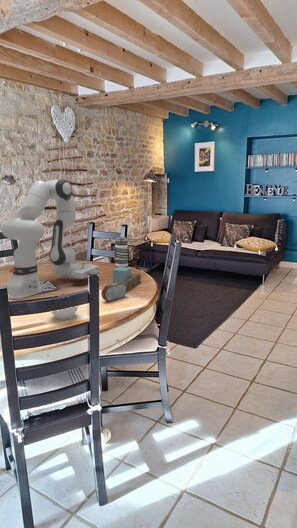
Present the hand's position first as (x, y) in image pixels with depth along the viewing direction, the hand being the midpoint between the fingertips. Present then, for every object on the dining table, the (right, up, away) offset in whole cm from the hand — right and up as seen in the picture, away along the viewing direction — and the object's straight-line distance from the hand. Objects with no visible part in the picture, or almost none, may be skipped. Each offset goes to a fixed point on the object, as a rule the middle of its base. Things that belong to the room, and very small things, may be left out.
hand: (98, 272), depth 208 cm
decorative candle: (+13, -3, +17) cm, 22 cm away
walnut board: (+20, -8, -5) cm, 22 cm away
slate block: (+14, -7, -3) cm, 17 cm away
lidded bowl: (-7, -18, -52) cm, 55 cm away
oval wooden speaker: (+12, -13, -28) cm, 33 cm away
